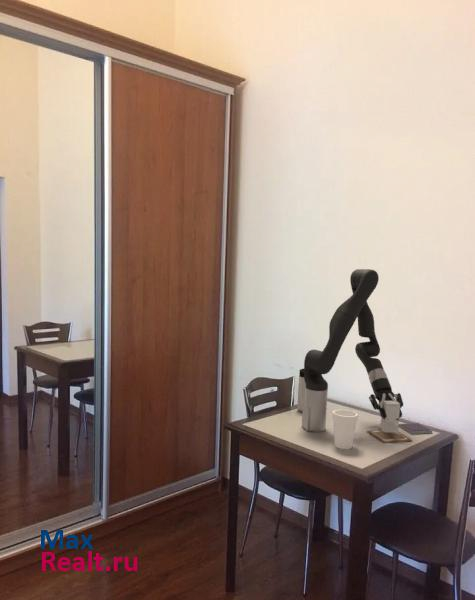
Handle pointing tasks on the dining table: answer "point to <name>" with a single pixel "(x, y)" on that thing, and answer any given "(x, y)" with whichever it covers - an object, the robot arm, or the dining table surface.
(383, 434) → the marked board
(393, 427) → the skincare box
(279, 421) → the dining table surface
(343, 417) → the foam cup
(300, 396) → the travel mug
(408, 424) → the ink pad
